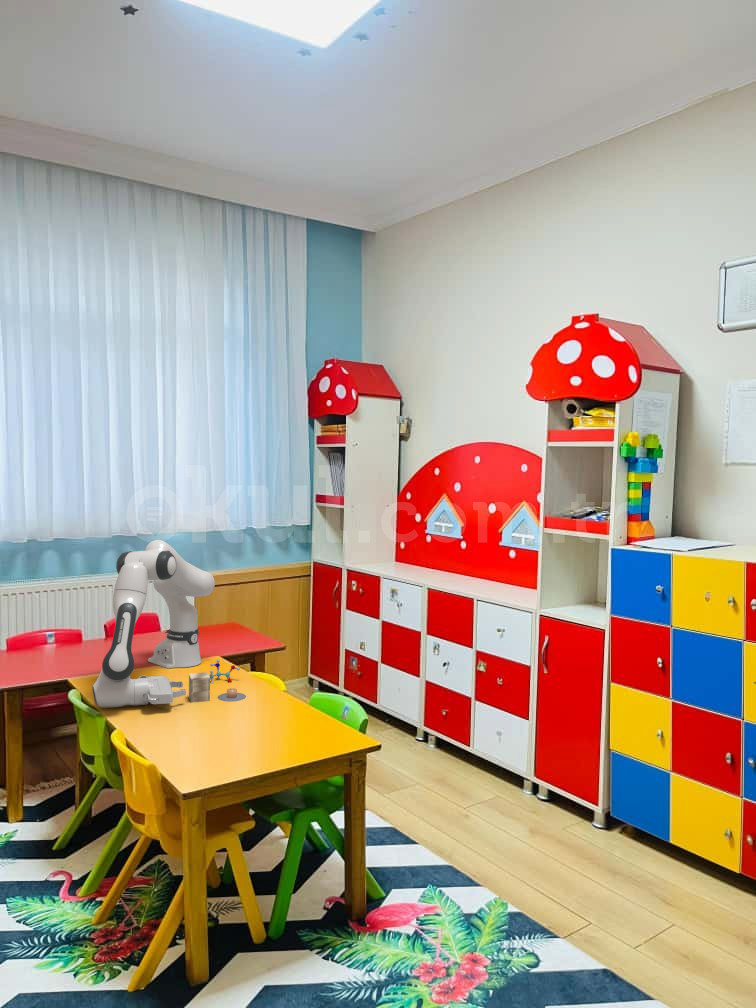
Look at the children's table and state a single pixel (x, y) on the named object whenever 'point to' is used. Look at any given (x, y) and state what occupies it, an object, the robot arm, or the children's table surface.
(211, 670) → the molecular model
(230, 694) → the pinkish-brown rounded lump
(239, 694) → the coaster
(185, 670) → the children's table surface
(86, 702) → the children's table surface
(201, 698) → the beige upright block
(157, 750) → the children's table surface
